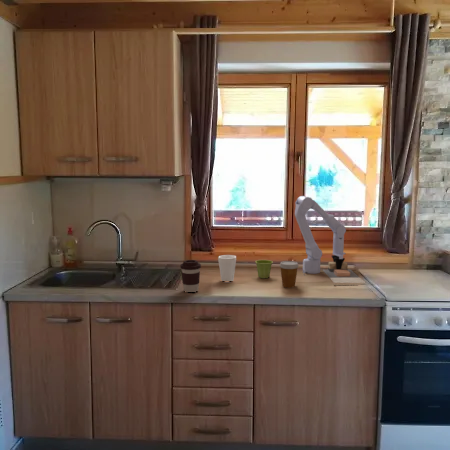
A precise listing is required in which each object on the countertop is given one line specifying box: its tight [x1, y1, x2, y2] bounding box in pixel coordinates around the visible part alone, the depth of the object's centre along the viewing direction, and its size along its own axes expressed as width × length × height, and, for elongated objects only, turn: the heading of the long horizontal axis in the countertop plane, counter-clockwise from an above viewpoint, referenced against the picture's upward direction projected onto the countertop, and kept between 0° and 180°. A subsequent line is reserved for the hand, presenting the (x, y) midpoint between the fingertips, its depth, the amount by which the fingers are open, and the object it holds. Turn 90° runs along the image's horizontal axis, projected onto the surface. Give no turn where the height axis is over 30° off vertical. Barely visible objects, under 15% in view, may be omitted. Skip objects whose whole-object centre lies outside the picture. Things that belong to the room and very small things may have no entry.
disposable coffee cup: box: [279, 260, 299, 289], centre depth 237 cm, size 10×10×12 cm
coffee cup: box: [179, 259, 202, 293], centre depth 229 cm, size 10×10×15 cm
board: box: [322, 268, 366, 287], centre depth 252 cm, size 16×28×2 cm, turn 0°
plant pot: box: [255, 259, 274, 279], centre depth 255 cm, size 9×9×9 cm
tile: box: [334, 270, 350, 276], centre depth 254 cm, size 7×7×2 cm
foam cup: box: [217, 254, 237, 282], centre depth 248 cm, size 10×9×13 cm
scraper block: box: [327, 261, 349, 271], centre depth 263 cm, size 10×4×4 cm, turn 90°
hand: (337, 269), depth 263 cm, fingers closed on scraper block, 4 cm apart
